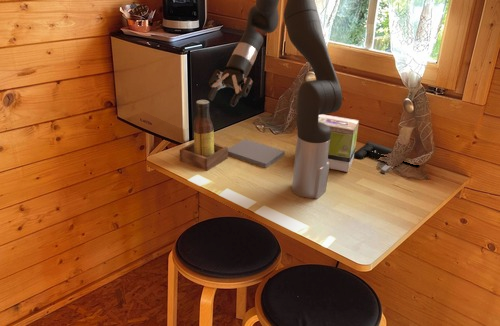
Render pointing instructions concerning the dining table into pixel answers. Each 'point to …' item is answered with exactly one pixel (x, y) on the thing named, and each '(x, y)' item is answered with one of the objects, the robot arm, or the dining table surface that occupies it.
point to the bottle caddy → (200, 161)
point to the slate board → (255, 153)
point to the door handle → (373, 153)
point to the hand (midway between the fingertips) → (220, 102)
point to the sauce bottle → (203, 130)
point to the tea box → (341, 141)
